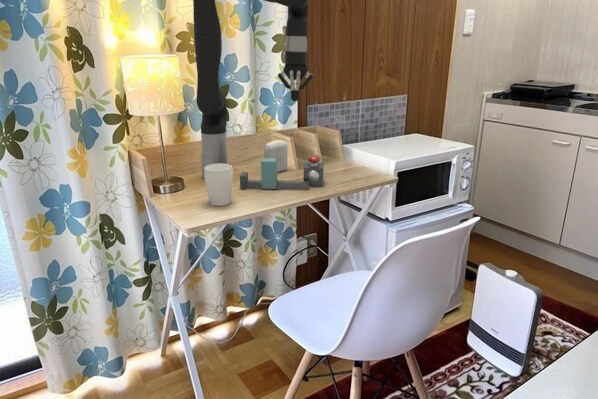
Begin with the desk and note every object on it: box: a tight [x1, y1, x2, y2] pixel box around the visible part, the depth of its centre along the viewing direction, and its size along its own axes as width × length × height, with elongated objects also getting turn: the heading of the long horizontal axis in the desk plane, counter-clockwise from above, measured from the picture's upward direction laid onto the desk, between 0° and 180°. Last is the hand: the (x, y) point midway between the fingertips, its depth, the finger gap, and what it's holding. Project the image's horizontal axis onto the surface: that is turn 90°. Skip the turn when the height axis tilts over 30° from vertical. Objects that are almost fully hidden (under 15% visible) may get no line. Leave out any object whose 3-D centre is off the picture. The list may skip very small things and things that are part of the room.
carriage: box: [260, 157, 278, 190], centre depth 162 cm, size 5×4×10 cm
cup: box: [204, 163, 234, 207], centre depth 148 cm, size 9×9×12 cm
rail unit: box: [239, 161, 325, 191], centre depth 166 cm, size 29×13×7 cm, turn 86°
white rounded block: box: [263, 139, 288, 173], centre depth 182 cm, size 10×4×12 cm, turn 134°
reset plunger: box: [307, 154, 321, 166], centre depth 167 cm, size 4×4×7 cm
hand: (294, 100), depth 165 cm, fingers closed
